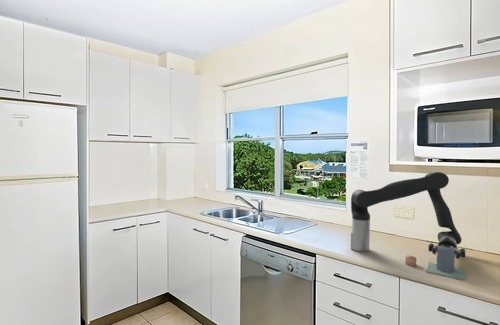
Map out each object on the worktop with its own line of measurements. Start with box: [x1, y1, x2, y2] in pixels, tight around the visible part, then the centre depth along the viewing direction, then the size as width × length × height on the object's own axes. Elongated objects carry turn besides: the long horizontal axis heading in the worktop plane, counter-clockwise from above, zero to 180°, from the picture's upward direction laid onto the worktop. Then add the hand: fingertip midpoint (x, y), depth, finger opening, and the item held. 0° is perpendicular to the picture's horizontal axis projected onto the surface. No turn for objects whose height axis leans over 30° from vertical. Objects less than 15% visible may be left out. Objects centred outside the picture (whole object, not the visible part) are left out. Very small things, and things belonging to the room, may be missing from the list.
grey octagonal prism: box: [436, 246, 456, 273], centre depth 132 cm, size 6×6×10 cm
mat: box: [425, 262, 466, 281], centre depth 132 cm, size 14×13×1 cm
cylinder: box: [404, 255, 417, 267], centre depth 141 cm, size 5×5×4 cm
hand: (445, 254), depth 131 cm, fingers open, 8 cm apart
